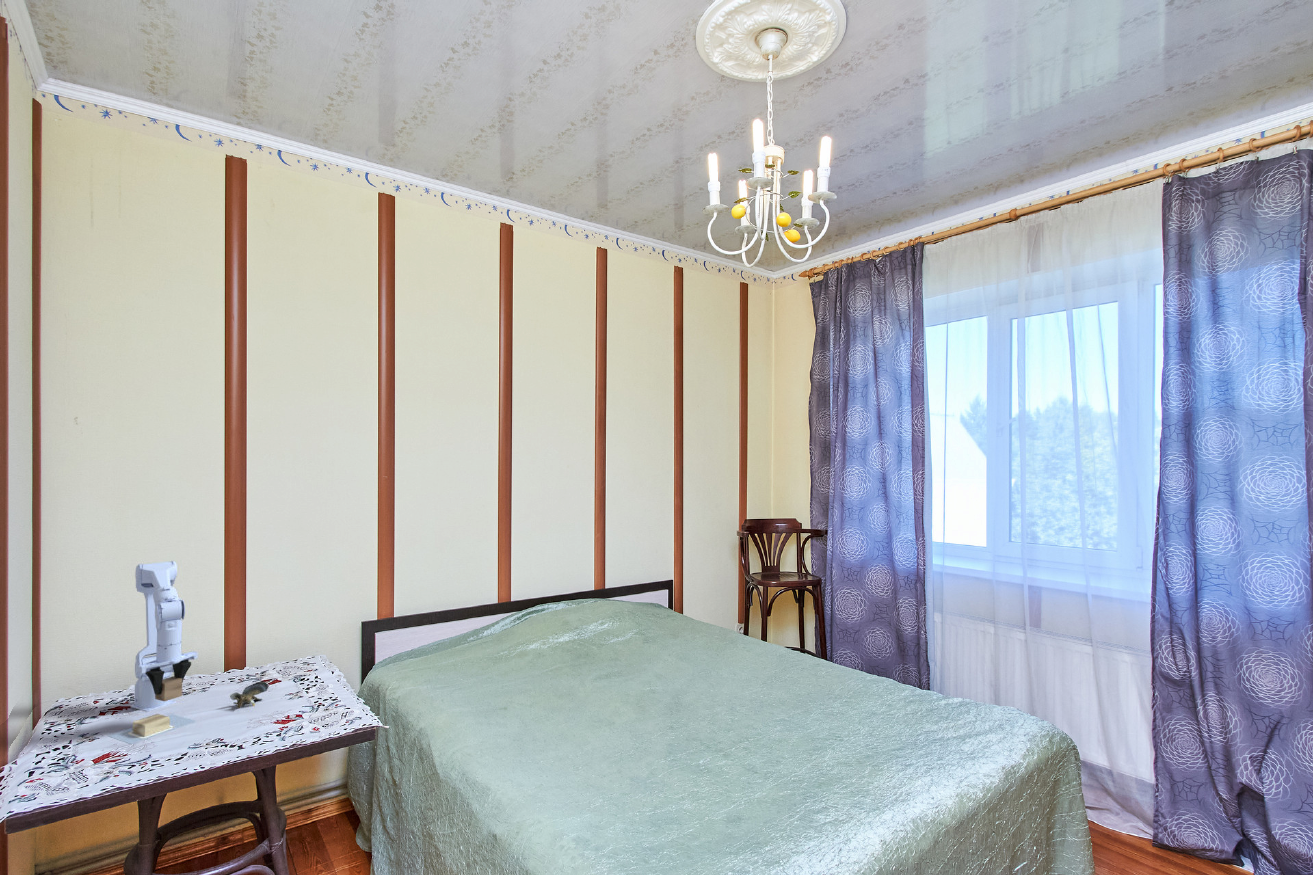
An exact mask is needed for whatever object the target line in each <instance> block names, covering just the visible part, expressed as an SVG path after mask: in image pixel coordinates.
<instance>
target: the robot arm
mask: <svg viewBox="0 0 1313 875" xmlns="http://www.w3.org/2000/svg"><path fill="white" fill-rule="evenodd" d="M134 573H135V574H134V576H135V589H136V591H137V592H139V593H141V594H143V596H144V600H145V621H146V622H145V623H146V624H145V626H146V646H145V647H143V648H142V649H141V650H140V651H138V652H137V653H136V655H135V661H134V674H135V678H136V679H137V681H136V682H135V685H134V699H133V700H134V703H133V704H131V705H130V708H133V709H137V710H141V711H144V712H151V711H153V710H156V709H160V708H163V707H167V706H169V705H173V704H176V703H177V701H176V700H174V699H171V700H168V701H165V702H164V701H161V700H157V699H155V694H157V695H160V694H161V693H162V680H163V679H166V678H169V677H172V675H173V677H178V678H182V684H184V683H183V682H184V679H185V678H186V674H188V673H187V672H188V671H189V669H190V668H191V666H192V660H198V656H199V654H198V651H190V652H185V653H182V641H183V639H182V636H183V635H182V631H183V620H184V619H185V615H186V604H185V600H184V599H182V598H180V597H179V595H178V594H179V593H178V591H177V589H176V588H175V587H174V585H175V581H176V579H177V575H178V564H177V562H176V561H175V560H171V561H162V562H151V563H139V564H138V565H136V567H135V572H134Z"/></svg>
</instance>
